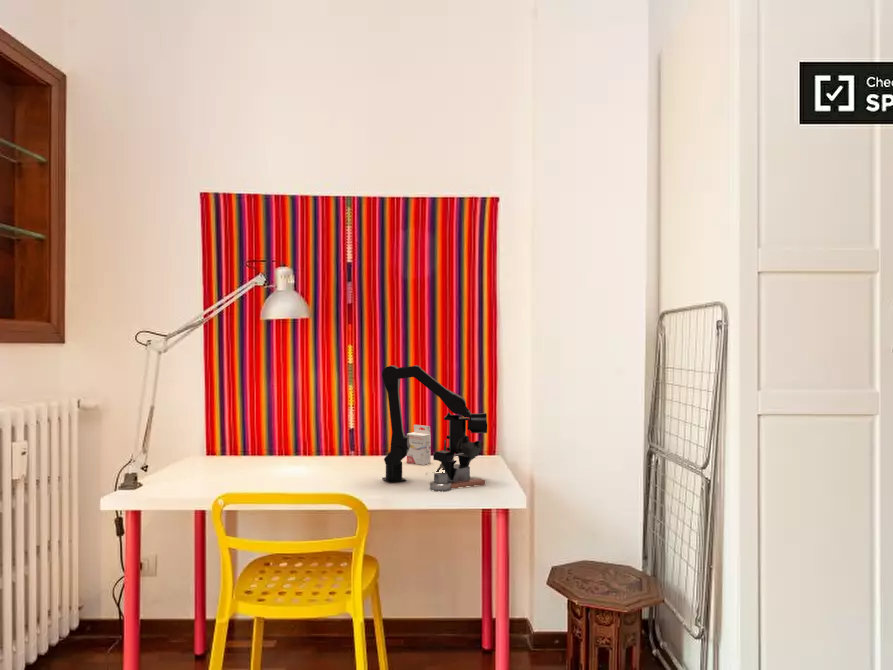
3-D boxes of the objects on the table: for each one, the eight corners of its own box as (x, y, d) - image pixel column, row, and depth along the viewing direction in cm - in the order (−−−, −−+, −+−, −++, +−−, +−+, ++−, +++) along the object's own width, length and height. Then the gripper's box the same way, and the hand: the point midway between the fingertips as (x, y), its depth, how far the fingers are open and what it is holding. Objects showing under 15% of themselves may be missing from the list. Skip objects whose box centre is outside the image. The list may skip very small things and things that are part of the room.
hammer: (435, 492, 200) (435, 476, 200) (426, 487, 206) (426, 472, 206) (488, 486, 209) (488, 471, 209) (477, 481, 215) (477, 467, 215)
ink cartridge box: (406, 463, 246) (406, 425, 247) (413, 461, 251) (413, 424, 251) (424, 465, 242) (424, 427, 242) (431, 463, 246) (431, 425, 246)
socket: (445, 481, 215) (445, 466, 215) (456, 478, 220) (456, 464, 220) (458, 484, 211) (458, 469, 211) (469, 481, 216) (469, 466, 216)
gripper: (457, 438, 203) (456, 486, 203) (492, 432, 217) (492, 477, 217) (432, 435, 211) (432, 481, 211) (468, 429, 225) (468, 472, 225)
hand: (457, 478), depth 216 cm, fingers closed on socket, 6 cm apart
